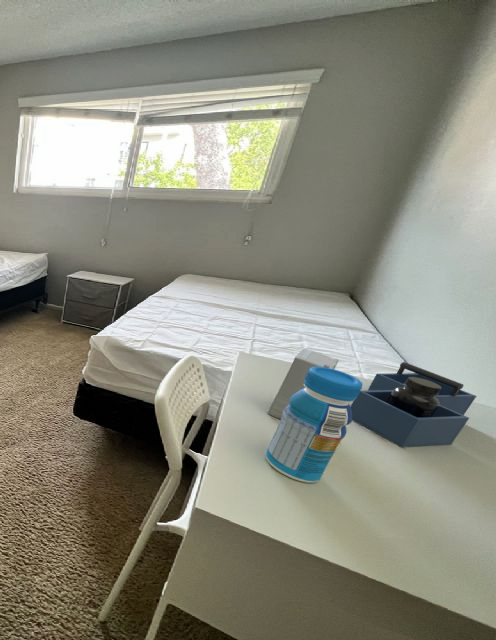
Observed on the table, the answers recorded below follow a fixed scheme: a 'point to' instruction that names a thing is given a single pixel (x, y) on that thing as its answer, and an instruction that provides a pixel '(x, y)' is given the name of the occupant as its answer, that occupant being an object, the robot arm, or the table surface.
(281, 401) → the cosmetic box
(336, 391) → the blue vitamin bottle
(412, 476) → the table surface
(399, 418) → the lower bin
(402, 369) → the upper bin
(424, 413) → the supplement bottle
